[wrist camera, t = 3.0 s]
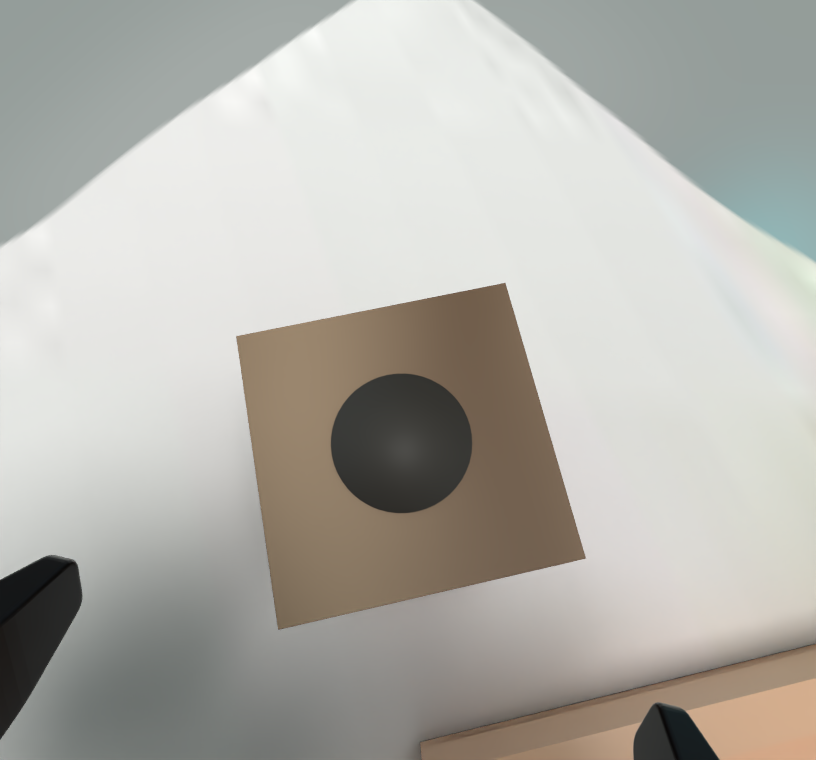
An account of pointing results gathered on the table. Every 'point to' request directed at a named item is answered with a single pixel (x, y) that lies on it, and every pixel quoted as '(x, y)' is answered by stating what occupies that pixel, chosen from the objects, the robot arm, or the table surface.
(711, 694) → the tray
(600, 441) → the table surface
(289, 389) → the walnut block
